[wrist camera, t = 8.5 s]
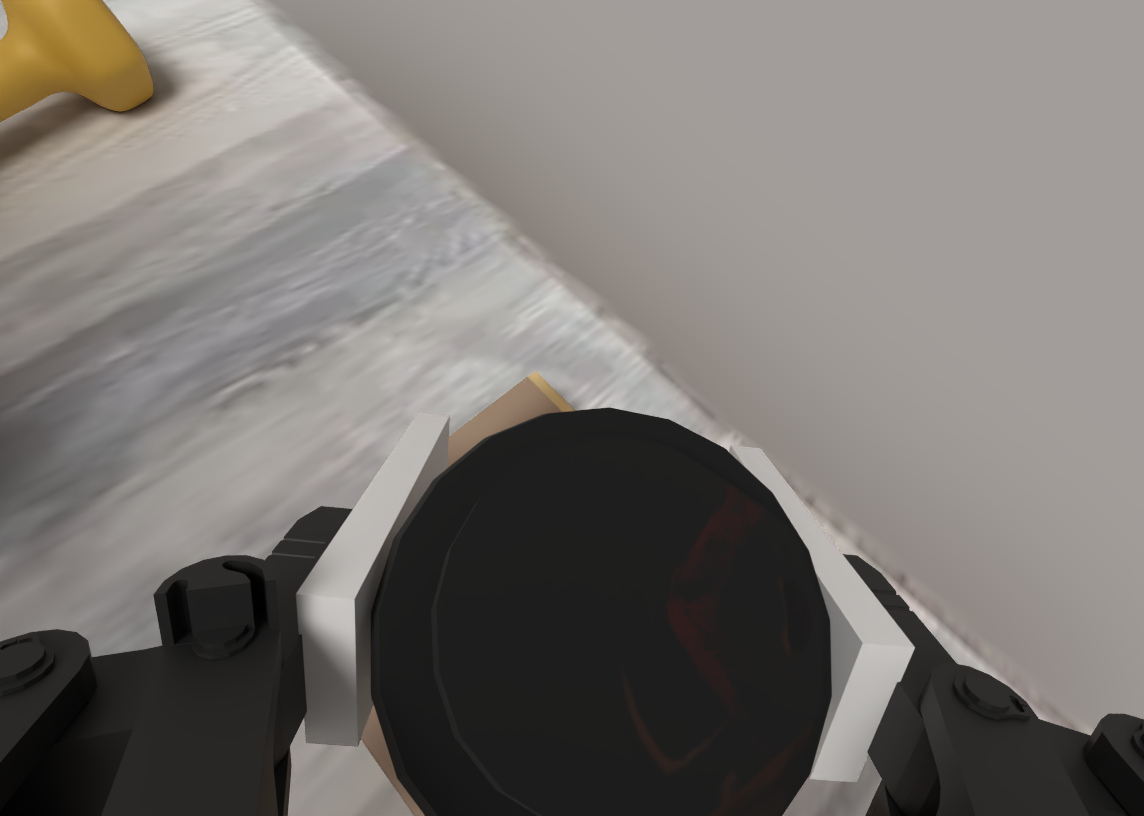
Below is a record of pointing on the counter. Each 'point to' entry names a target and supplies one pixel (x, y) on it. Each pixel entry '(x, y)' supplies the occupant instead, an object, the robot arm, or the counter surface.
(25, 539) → the counter surface
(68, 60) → the dumbbell
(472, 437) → the brown flat square block
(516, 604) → the coffee cup
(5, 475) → the counter surface
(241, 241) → the counter surface
